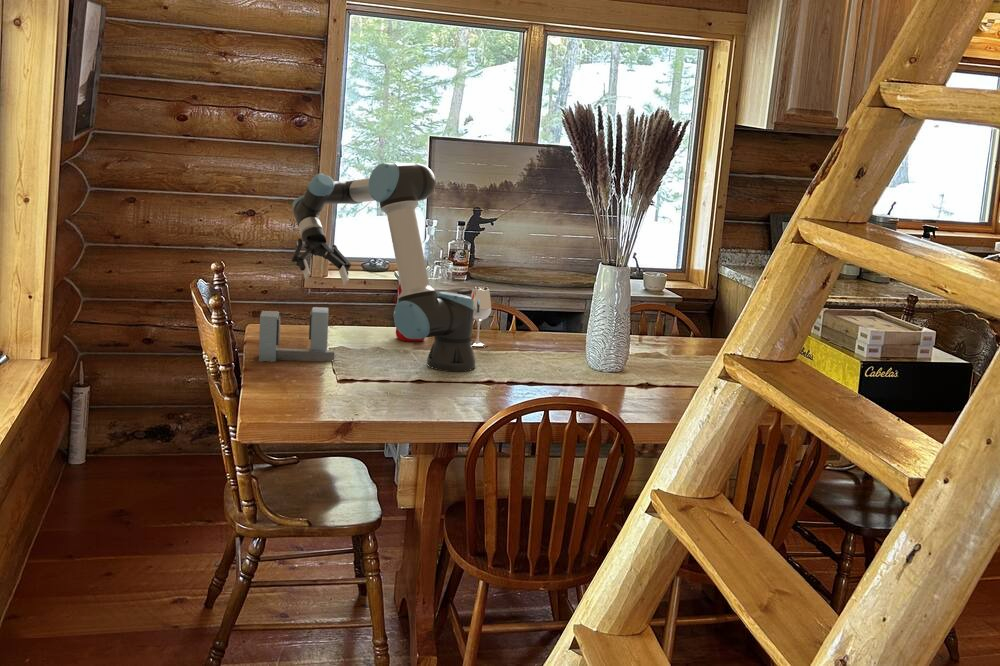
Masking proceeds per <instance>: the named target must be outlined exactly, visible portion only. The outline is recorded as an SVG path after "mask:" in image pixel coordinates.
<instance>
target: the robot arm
mask: <svg viewBox="0 0 1000 666" xmlns="http://www.w3.org/2000/svg"><path fill="white" fill-rule="evenodd" d="M436 181H437V180H436V176H435V174H434V172H433V171H432V169H430V168H429V167H428V166H426V164H421V163H417V162H415V163H411V162H409V163H408V162H394V161H391V162H382V163H380V164H378V165H375V167H374V168H373V170H372V171H371V174H370V176H369V178H363V179H362V178H361V179H356V180H347V181H346V180H345V181H344V180H343V181H342V180H341V181H340V180H339V181H337V180H336V181H335V180H334V179H333V178H332V177H331V176H330V175H327V174H324V173H317V174H315V175H314V176H313V177H312V179H311V180H310V182H309V183H308V186H307V187H306V190H305V192H304V194H303V195H300V196H298V197H297V198H296V199H294V200H293V202H292V213H293V215H294V219H295V221H296V225H297V227H298V230H299V234H300V237H301V238H298V239H297V242H296V244H295V247H296V248H295V251H294V253H293V256H292V258H291V262H292V263H295V262H296V263H295V265H296V266H297V267H299V270H300V271H302V274H303V277H304V280H305V281H308V280H309V278H310V276H311V275H312V273H311V271H310V267H309V264H308V261H307V258H308V257H310V255H312V256H318V257H322V258H323V259H325V260H328V261H329V262H330V263H331V264H332V265H334V266H335V267H336V268H337V269H339V270H338V273H339V276H340V279H341V281H342V285H343V286H345V287H346V286H347V285H348V283H349V281H350V278H349V270H350V268H351V266H352V264H351V262H350V261H348V259H347V258H346V257H345V256H344V254H342V253H341V251H340V250H339V249H338V246H337V245H336V244H333V245H332V246H331V245H329V244H328V243H327V238H326V234H325V231H324V227H323V225H322V223H321V220H320V214H321V211H322V210H323V209H324V207H325V205H326V204H328V205H338V204H341V205H343V204H350V205H357V204H362V203H365V202H366V203H367V202H377V203H379V208H380V211H381V212H383V213H384V214H385V215H386V216H387V217H386V218H387V222H388V227H389V232H390V236H391V237H390V239H391V242H392V243H391V244H392V247H393V252H394V253H393V254H394V258H395V262H396V268H397V273H398V277H399V284H401V289H402V292H401V294H400V295H399V294H398V296H397V298H398V299H397V300H398V303H396V305H395V307H394V311H393V321H394V324H395V328H396V327H397V329H398V331H399V332H400V333H401V334H403V335H404V336H405V337H406V338H409V339H423V338H424V339H425V338H426V339H427V338H434V339H433V343H432V345H431V348H430V351H429V353H428V356H427V360H426V365H427V364H428V365H429V366H430V367H429V366H428V365H427V366H428V367H429V368H431V367H433V368H432V369H434V368H437V369H436V370H438V369H441V370H440V371H443V370H448V371H447V372H466V371H465V370H469V371H471V370H470V369H472V370H474V369H476V357H475V354H474V348H473V347H472V345H471V342H472V334H473V333H472V325H473V326H474V319H473V312H474V309H473V307H474V301H473V299H472V298H471V297H469V296H466V295H461V294H456V293H449V292H447V291H438V292H437V290H436V289H434V288H433V287H432V286H431V285H430V281H429V275H428V269H427V265H426V260H425V256H424V255H425V254H424V251H423V245H422V239H421V235H420V230H419V224H418V220H417V214H416V208H417V207H418V205H419V202H420V201H424V200H427V199H428V198H430V197H431V196H432V195H433V193H434V191H435V189H436V186H437V185H436V184H437V182H436ZM303 247H304V248H305V249H306V250H305V251H304V252H303V253H302V254H301V256H299V254H300V252H301V249H302V248H303ZM473 368H474V369H473Z"/></svg>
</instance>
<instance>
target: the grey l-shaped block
mask: <svg viewBox="0 0 1000 666" xmlns="http://www.w3.org/2000/svg"><path fill="white" fill-rule="evenodd" d="M258 338H259V340H258V346H259V347H258V362H263V361H268V362H267V363H269V361H270V362H271V363H276V362H277V361H294V360H295V362H296V361H297V362H298V361H299V362H300V361H301V362H302V361H303V362H321V363H322V362H324V363H325V362H328V363H332V362H331V361H332V360H334V361H335V350H332V349H329V350H328V349H327V350H312V349H308V348H307V349H305V348H283V347H282V348H281V347H279V344H280V342H281V341H280V340H281V314H280V312H279V311H278V310H276V311H274V310H261V313H260V315H259V337H258Z"/></svg>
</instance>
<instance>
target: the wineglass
mask: <svg viewBox="0 0 1000 666" xmlns="http://www.w3.org/2000/svg"><path fill="white" fill-rule="evenodd" d="M471 298H472V299H473V301H474V307H473V309H474V312H473V321H476V324H477V325H476V327H477V331H476V339H475V341H471V345H472V346H483V345H485V344H486V343H485V344H484V342H481V340H480V337H479V336H480V325H481V322H483V321H484V320H486V319H487V318H489V316H490V314H491V312H492V301H491V293H490V288H488V287H485V286H483V287H482V286H475V287H472V294H471Z"/></svg>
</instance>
